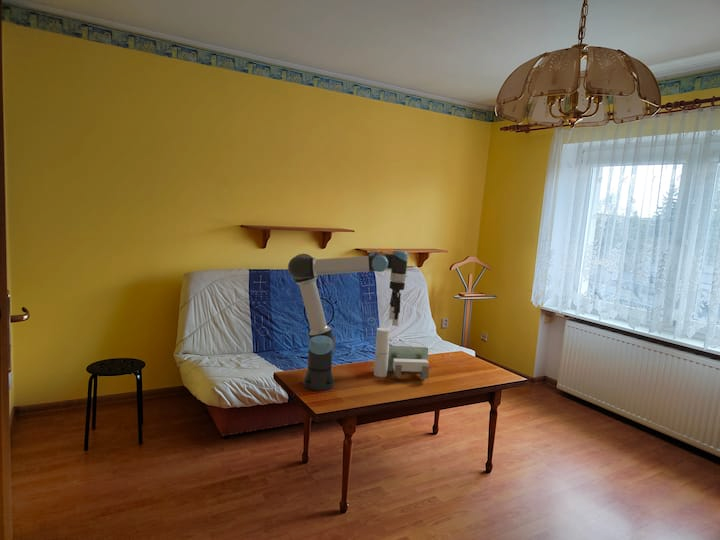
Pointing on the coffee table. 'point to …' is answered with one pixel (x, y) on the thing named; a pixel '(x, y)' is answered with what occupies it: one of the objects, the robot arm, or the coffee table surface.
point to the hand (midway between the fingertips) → (393, 322)
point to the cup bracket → (407, 353)
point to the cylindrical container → (381, 352)
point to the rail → (410, 364)
